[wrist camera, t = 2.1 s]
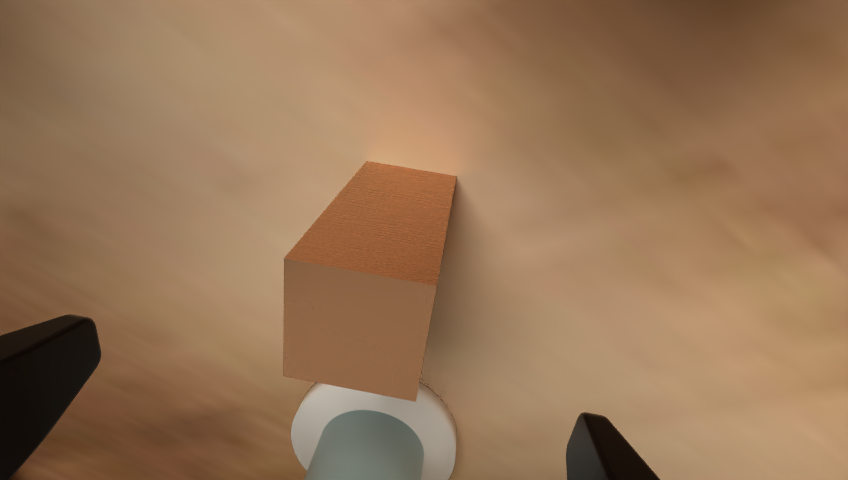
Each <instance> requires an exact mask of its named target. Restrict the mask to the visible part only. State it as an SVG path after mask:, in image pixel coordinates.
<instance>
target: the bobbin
mask: <svg viewBox="0 0 848 480" xmlns="http://www.w3.org/2000/svg"><path fill="white" fill-rule="evenodd" d="M291 441H292V445H293V449H294V452H295V454H296V457H297V458H298V460H299V462H300V463H301V465H302V466H303V467H304V469H305V470H306V471H307V472H306V475H305V477H304V480H448V479H449V477H450V476H451V474H452V471H453V468H454V465H455V457H456V442H457V432H456V427H455V422H454V420H453V417H452V415H451V413H450V411H449V410H448V408H447V406H446V405H445V404H444V403H443V401H442V400H441V399H440V398H439V397H438V396H437V395H436V394H435V393H434V392H433V391H431V390H430V389H429V388H427V387H426V386H425V385H423V384H421V383H420V382H419V387H418V393H417V398H416V402H414V401H409V400H404V399H399V398H394V397H389V396H384V395H378V394H373V393H368V392H363V391H358V390H353V389H348V388H342V387H337V386H332V385H327V384H322V383H315V384H314V385H313V386H312V387H311V388H310V390H309V391H308V392H307V393H306V395H305V397H304V399H303V401H302V403H301V405H300V407H299V409H298V411H297V413H296V415H295V417H294V420H293V423H292V428H291Z"/></svg>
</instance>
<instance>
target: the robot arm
mask: <svg viewBox="0 0 848 480" xmlns="http://www.w3.org/2000/svg"><path fill="white" fill-rule="evenodd" d="M100 358H101V349H100V344H99V339H98V334H97V329H96V325H95V322H94V321H93V320H92V319H90V318H88V317H83V316H77V315H64V316H61V317H58V318H54V319H51V320H48V321H45V322H42V323H39V324H36V325H32V326H29V327H26V328H23V329H20V330H17V331H14V332H10V333H7V334H4V335H1V336H0V480H10V478H11V477H12V476H13V475H14V474H15V473H16V472H17V470H18V469H19V468H20V467H21V466H22V465H23V463H24V462H25V461H26V460H27V459H28V458H29V457H30V455H31V454H32V453H33V452H34V451H35V450H36V448H37V447H38V446H39V445H40V444H41V442H42V441H43V440H44V439H45V437H46V436H47V435H48V433H49V432H50V431H51V429H52V428H53V427H54V425H55V424H56V423H57V421H58V420H59V419H60V417H61V416H62V414H63V413H64V412H65V410H66V409H67V407H68V406H69V405H70V403H71V402H72V401H73V399H74V398H75V396H76V395H77V394H78V392H79V391H80V390H81V388H82V387H83V385H84V384H85V383H86V381H87V380H88V379H89V377H90V376H91V374H92V373H93V372H94V370H95V369H96V367H97V366H98V364H99V362H100ZM566 465H567V480H660V479H659V478H658V477H657V475H656V474H655V473H654V472H653V471H652V470H651V468H650V467H649V466H648V465H647V464H646V463H645V461H644V460H643V459H642V458H641V457H640V456H639V455H638V453H637V452H636V451H635V450H634V449H633V448H632V446H631V445H630V444H629V443H628V442H627V441H626V439H625V438H624V437H623V436H622V435H621V434H620V433H619V431H618V430H617V429H616V428H615V427H614V426H613V424H612V423H611V422H610V421H609V420H608V419H607V418H606V417H604V416H602V415H597V414H591V413H586V412H584V413H581V414H580V415H579V417H578V419H577V421H576V424H575V427H574V429H573V432H572V434H571V437H570V439H569V442H568V445H567V451H566Z"/></svg>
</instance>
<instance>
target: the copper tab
mask: <svg viewBox="0 0 848 480" xmlns="http://www.w3.org/2000/svg"><path fill="white" fill-rule="evenodd" d="M455 182H456V176H451V175H445V174H439V173H433V172H427V171H421V170H415V169H409V168H404V167H398V166H392V165H386V164H380V163H374V162H368V161H366V162H365V164H364V165H363V166H362V167H361V168H360V169H359V171H358V172H357V173H356V174H355V175H354V177H353V178H352V179H351V180H350V181H349V182H348V184H347V185H346V186H345V187H344V188H343V190H342V191H341V192H340V193H339V194H338V195H337V197H336V198H335V199H334V200H333V201H332V202H331V204H330V205H329V206H328V207H327V208H326V210H325V211H324V212H323V213H322V214H321V215H320V217H319V218H318V219H317V220H316V221H315V223H314V224H313V225H312V226H311V227H310V228H309V230H308V231H307V232H306V233H305V234H304V236H303V237H302V238H301V239H300V240H299V241H298V243H297V244H296V245H295V246H294V247H293V248H292V250H291V251H290V252H289V253H288V254H287V256H286V257H285V258H284V348H283V376H286V377H291V378H296V379H301V380H306V381H311V382H317V383H322V384H327V385H332V386H337V387H342V388H348V389H353V390H358V391H363V392H368V393H373V394H378V395H384V396H389V397H394V398H399V399H404V400H409V401H414V402H416V398H417V393H418V387H419V382H420V376H421V371H422V365H423V360H424V354H425V349H426V343H427V338H428V332H429V327H430V322H431V316H432V311H433V305H434V300H435V294H436V289H437V283H438V278H439V272H440V267H441V261H442V256H443V250H444V244H445V239H446V233H447V227H448V222H449V216H450V210H451V205H452V199H453V193H454V188H455Z"/></svg>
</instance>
